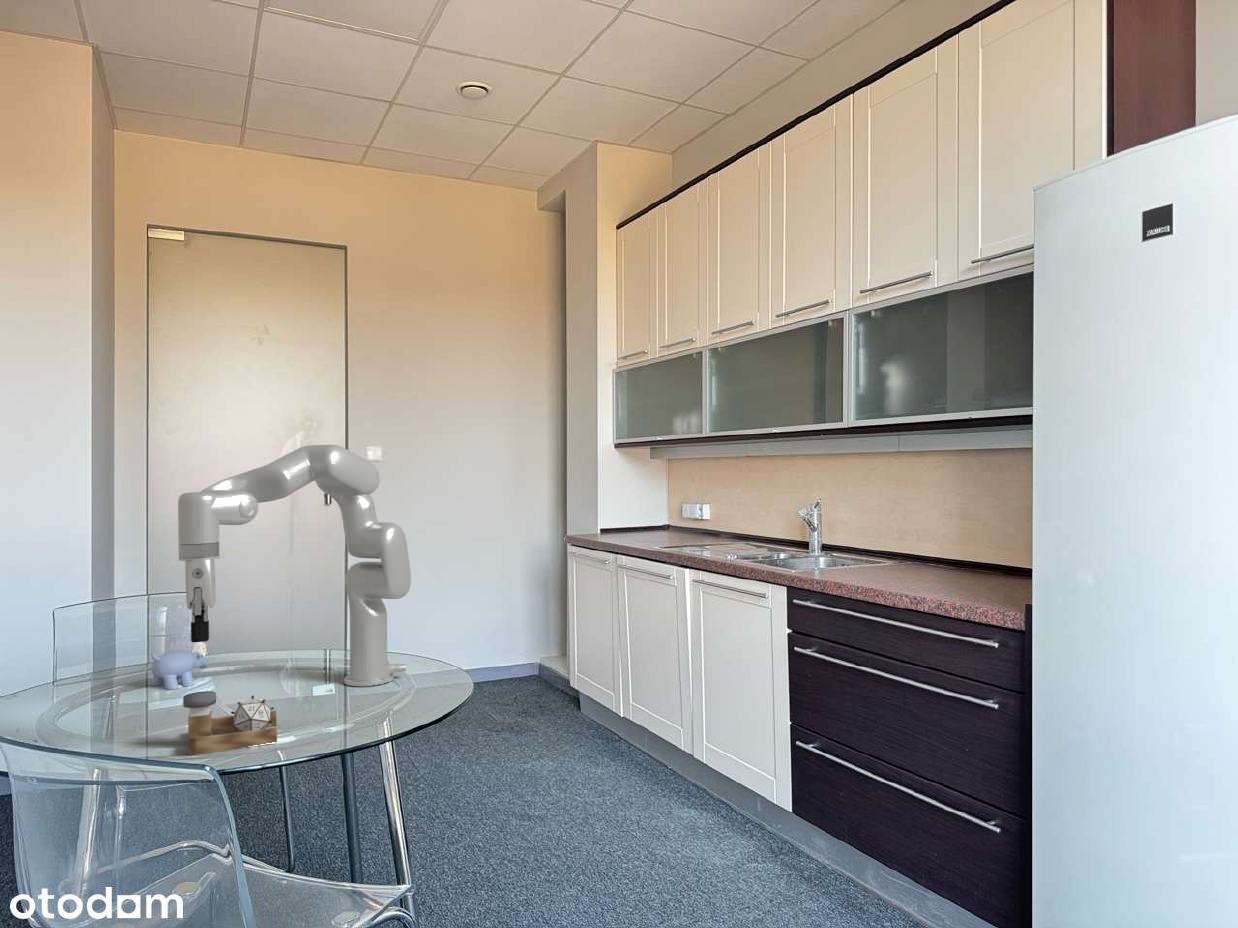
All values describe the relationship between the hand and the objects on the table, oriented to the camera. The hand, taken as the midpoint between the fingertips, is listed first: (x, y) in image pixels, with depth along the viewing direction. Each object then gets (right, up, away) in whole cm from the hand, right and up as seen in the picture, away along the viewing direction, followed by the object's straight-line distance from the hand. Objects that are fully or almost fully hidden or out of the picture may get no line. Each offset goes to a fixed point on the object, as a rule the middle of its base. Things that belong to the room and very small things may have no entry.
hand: (200, 640), depth 169 cm
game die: (+9, -21, +4) cm, 23 cm away
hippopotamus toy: (-31, -22, +49) cm, 62 cm away
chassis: (+6, -21, +2) cm, 22 cm away
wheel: (0, -15, 0) cm, 15 cm away
